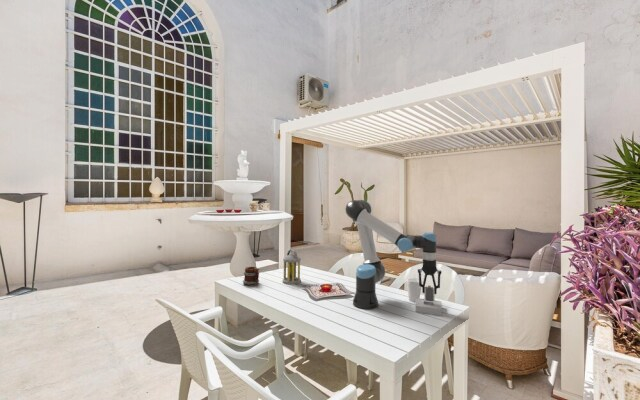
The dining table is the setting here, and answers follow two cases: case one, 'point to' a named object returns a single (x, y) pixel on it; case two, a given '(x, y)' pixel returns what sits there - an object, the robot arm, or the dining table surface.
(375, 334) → the dining table surface
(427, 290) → the plug
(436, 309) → the socket plate
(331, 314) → the dining table surface
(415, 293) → the foam cup
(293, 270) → the lantern
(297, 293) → the dining table surface
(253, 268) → the mug
